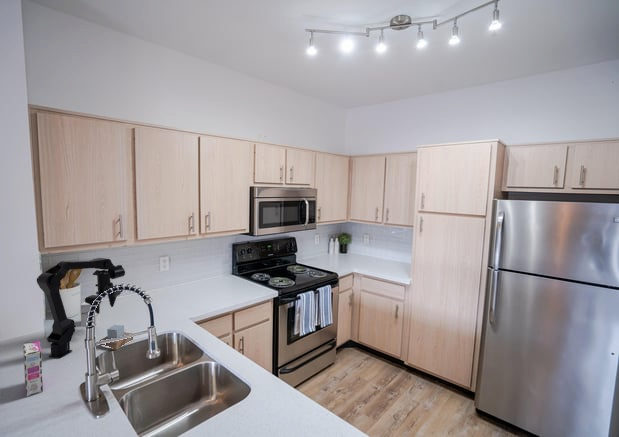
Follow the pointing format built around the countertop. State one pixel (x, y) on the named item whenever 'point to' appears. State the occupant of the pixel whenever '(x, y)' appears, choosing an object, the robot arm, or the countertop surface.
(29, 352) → the candy bar box
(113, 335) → the slate cube
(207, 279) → the countertop surface
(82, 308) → the supplement box
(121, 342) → the walnut block
